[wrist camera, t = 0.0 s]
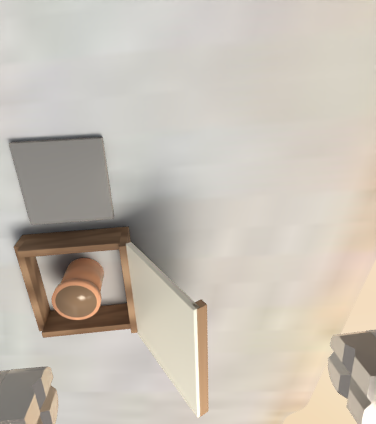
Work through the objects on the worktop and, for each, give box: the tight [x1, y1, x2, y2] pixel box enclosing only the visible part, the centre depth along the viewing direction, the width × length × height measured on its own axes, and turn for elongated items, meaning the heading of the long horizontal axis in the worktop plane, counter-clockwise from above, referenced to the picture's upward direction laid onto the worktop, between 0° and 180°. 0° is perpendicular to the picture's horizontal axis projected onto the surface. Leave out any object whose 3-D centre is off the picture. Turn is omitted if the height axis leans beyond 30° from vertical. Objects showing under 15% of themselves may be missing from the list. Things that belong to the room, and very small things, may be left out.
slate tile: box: [9, 137, 114, 225], centre depth 46 cm, size 12×12×1 cm
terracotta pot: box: [52, 258, 104, 320], centre depth 50 cm, size 7×7×7 cm
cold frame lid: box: [126, 242, 208, 418], centre depth 42 cm, size 17×16×2 cm
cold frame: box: [14, 227, 138, 338], centre depth 50 cm, size 16×16×6 cm
